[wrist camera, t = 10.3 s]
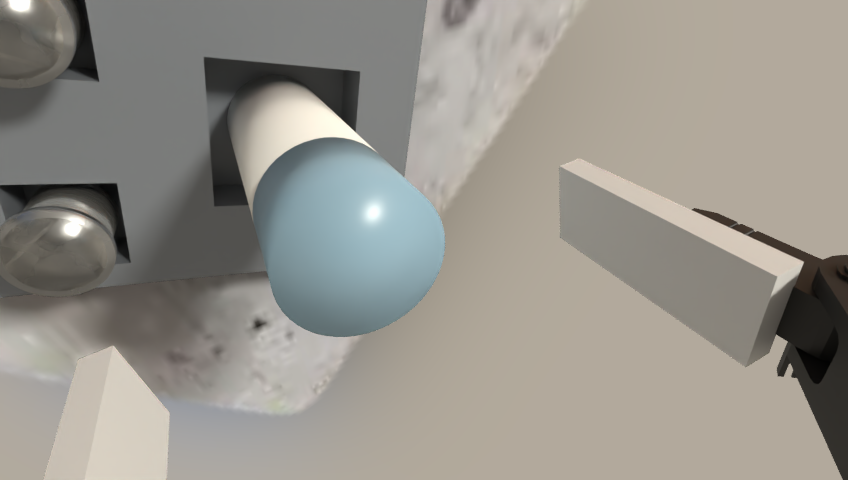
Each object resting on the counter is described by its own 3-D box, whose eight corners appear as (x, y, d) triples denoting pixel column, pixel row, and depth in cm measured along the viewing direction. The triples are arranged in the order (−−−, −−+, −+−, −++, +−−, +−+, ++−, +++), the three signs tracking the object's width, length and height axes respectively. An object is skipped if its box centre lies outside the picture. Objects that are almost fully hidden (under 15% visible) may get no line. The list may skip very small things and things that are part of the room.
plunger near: (-21, 63, 19) (-68, 83, 15) (-55, -57, 17) (-118, -64, 13) (102, 72, 20) (84, 92, 17) (83, -35, 18) (60, -37, 15)
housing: (-23, 263, 23) (-50, 302, 21) (-157, -117, 16) (-226, -135, 13) (376, 234, 33) (393, 258, 30) (402, -13, 26) (428, -12, 23)
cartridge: (229, 168, 26) (270, 350, 13) (224, 70, 24) (268, 180, 11) (322, 168, 28) (431, 322, 16) (326, 79, 26) (458, 177, 13)
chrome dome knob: (33, 252, 23) (5, 302, 19) (10, 173, 21) (-25, 213, 17) (131, 246, 24) (122, 290, 21) (118, 172, 23) (106, 208, 19)
